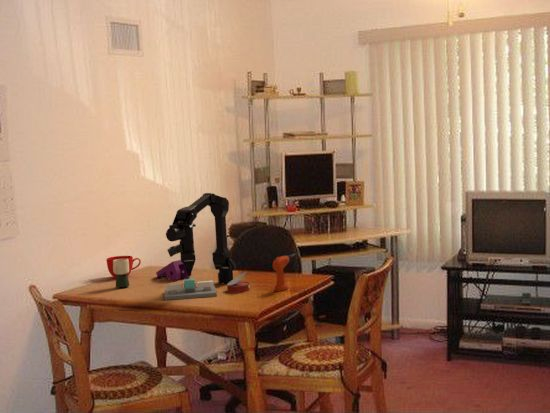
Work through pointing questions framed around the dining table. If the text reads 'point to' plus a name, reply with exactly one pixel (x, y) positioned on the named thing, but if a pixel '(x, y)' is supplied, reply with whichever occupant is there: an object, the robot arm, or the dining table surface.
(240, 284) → the canned food
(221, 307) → the dining table surface
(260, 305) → the dining table surface
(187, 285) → the block
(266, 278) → the dining table surface
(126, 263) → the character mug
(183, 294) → the plate
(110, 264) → the ceramic cup
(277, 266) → the toy drill
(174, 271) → the mounting bracket
